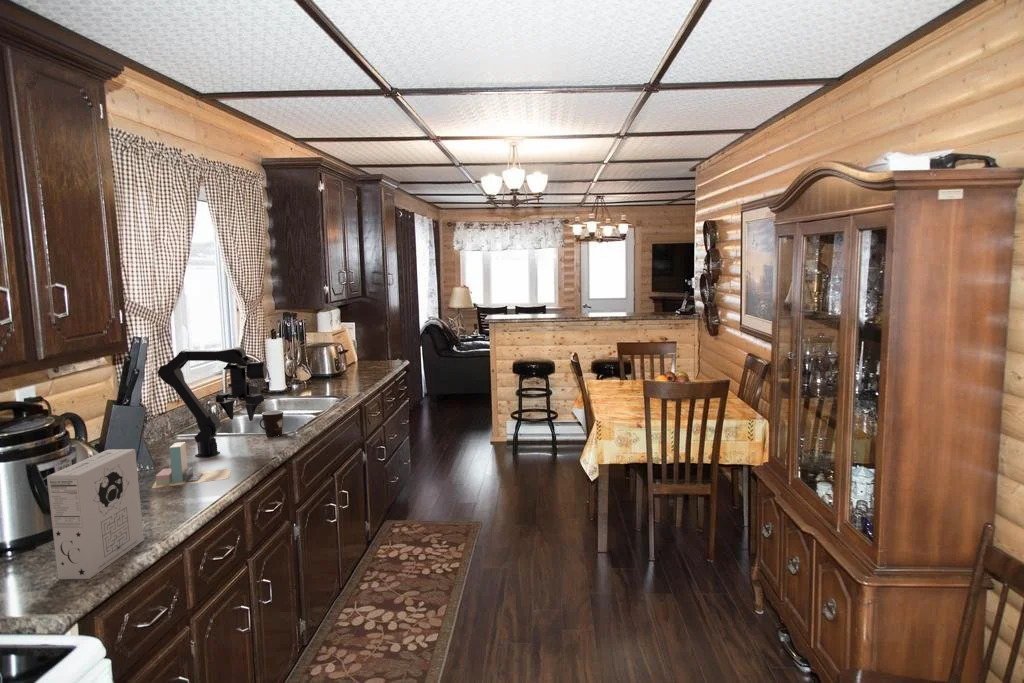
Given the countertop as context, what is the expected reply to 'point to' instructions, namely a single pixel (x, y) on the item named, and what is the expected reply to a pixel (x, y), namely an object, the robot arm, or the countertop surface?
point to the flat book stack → (164, 477)
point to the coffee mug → (272, 422)
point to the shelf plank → (202, 477)
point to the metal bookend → (191, 475)
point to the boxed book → (178, 461)
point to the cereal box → (95, 512)
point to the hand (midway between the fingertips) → (241, 420)
